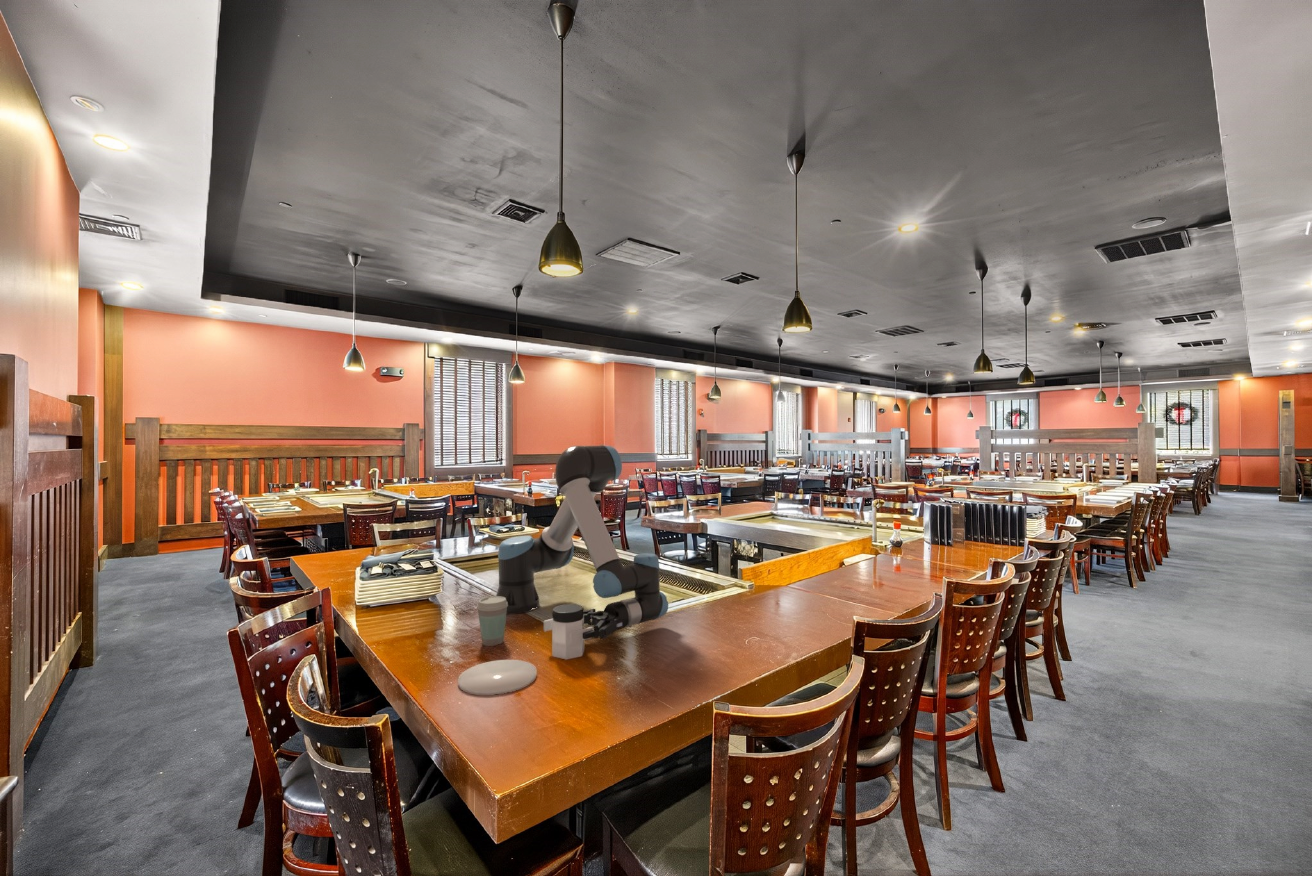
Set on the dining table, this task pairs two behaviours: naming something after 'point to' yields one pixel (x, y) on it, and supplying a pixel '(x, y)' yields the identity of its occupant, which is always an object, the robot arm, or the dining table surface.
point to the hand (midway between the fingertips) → (556, 632)
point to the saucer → (497, 677)
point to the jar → (567, 631)
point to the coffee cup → (492, 619)
